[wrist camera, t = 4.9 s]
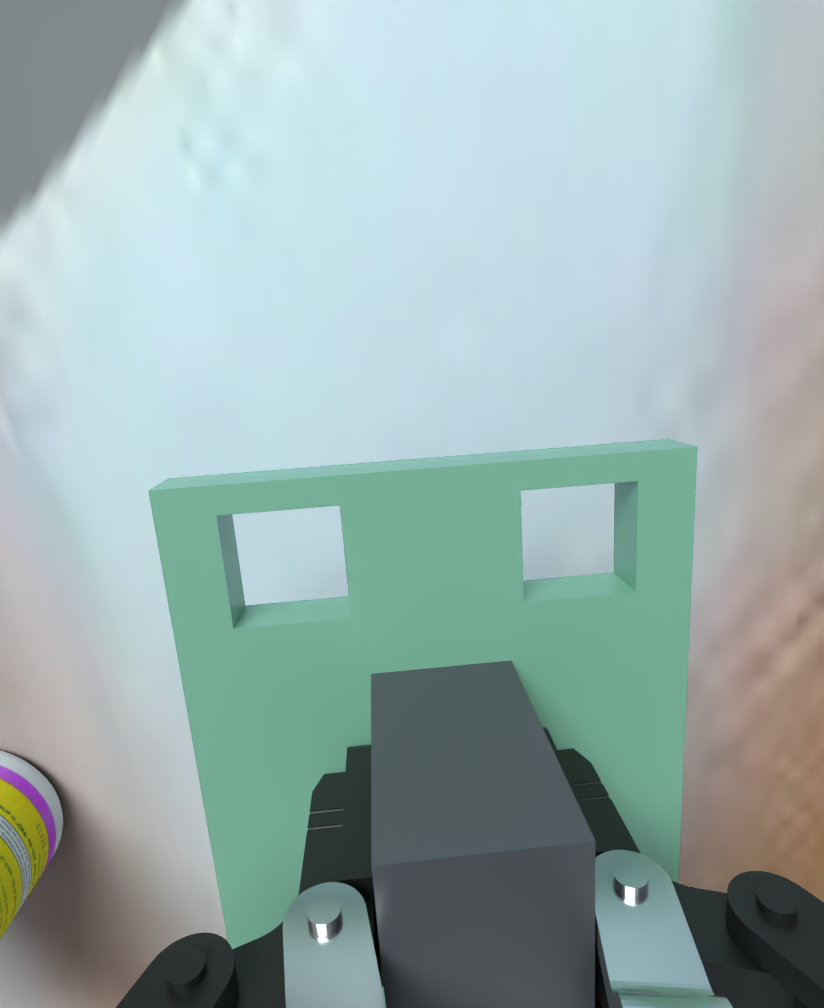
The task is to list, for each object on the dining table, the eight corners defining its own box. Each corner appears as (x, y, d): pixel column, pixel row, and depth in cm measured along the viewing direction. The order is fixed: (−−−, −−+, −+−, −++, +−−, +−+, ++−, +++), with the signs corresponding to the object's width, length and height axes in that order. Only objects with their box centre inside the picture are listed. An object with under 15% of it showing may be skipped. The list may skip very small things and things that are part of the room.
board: (168, 478, 13) (-11, 585, 7) (668, 438, 13) (915, 505, 7) (253, 983, 16) (182, 1359, 10) (652, 935, 17) (813, 1265, 11)
